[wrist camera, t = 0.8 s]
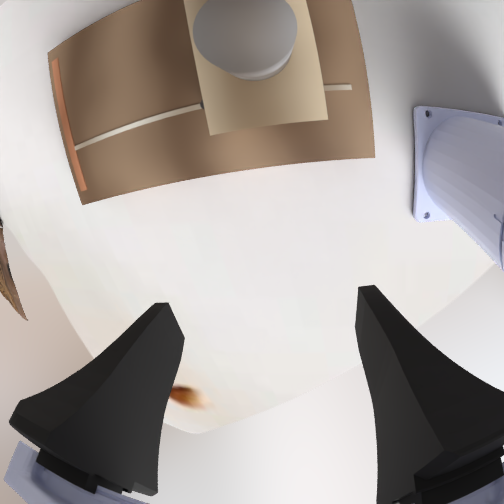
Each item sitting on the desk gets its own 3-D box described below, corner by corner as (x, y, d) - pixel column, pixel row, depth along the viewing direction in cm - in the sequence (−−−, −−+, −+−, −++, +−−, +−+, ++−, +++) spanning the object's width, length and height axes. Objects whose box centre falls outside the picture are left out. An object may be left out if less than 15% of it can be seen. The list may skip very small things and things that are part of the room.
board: (334, -23, 9) (340, -36, 8) (365, 151, 15) (375, 157, 14) (64, 53, 13) (46, 53, 11) (97, 195, 18) (81, 205, 17)
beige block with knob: (279, -48, 8) (276, -123, 2) (314, 114, 14) (349, 127, 7) (186, -31, 9) (129, -89, 2) (217, 128, 15) (166, 154, 8)
